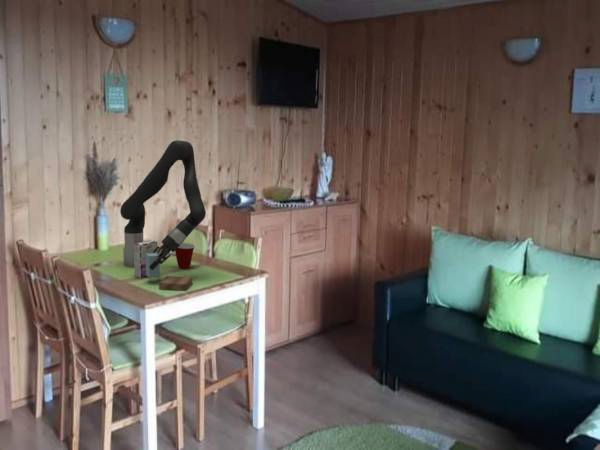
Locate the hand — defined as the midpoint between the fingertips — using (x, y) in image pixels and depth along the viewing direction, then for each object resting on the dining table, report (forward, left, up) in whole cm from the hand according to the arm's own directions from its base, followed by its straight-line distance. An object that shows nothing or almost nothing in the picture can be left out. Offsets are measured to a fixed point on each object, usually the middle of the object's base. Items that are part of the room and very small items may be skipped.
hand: (148, 267), depth 276 cm
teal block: (+1, +1, -4) cm, 5 cm away
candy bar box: (-5, +12, -8) cm, 15 cm away
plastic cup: (+9, +30, -8) cm, 32 cm away
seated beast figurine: (-2, +58, -8) cm, 58 cm away
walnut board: (+14, -4, -7) cm, 16 cm away
